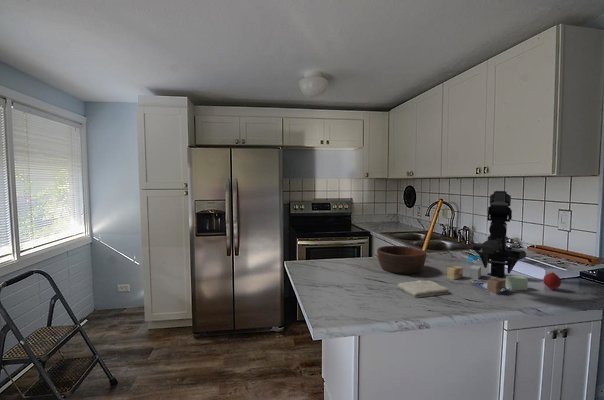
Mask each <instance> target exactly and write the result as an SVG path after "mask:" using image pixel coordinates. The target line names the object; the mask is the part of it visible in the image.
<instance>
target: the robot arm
mask: <svg viewBox="0 0 604 400" xmlns="http://www.w3.org/2000/svg"><path fill="white" fill-rule="evenodd" d="M511 199H512V197H511V195H510V194H509V193H507V191H505V190H495V191H493V193H492V194H490V196H489V206H488V207H487V220H486V221H489V222H490V226H489V229H488V231H489V235H488V236H487V240H486V241H484V242H482V243H481V242H478V243H477V242H476V243H473V244H472V245H471V250H472V251H474V253H476V254H477V255H478V256H479V257H480V260H481V262H482V265H483V268H484V269H487V268H488V264H490V272H488V273H487V275H488V276H492V277H496V278H499V279H503V278H506V276H509V274H511V272H512V271H513V269H514V267H515V266H516V264H517V263H518V262H519V260H522V259H526V258H527V253H526V250H524V249H518V248H512V249H508V247H509V246H508V245H507V240H508V239H509V236H507V230H508V224H507V223H510V221H512V219H513V213H512V212H513V210H512V209H511V208H512V207H511V206H512V205H511V203H512V202H511V201H512V200H511ZM506 266H507V274H505V271H506V270H505V269H506Z"/></svg>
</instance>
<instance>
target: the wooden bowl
mask: <svg viewBox="0 0 604 400" xmlns="http://www.w3.org/2000/svg"><path fill="white" fill-rule="evenodd" d="M376 253H377V259H378V263H379V265H380V267H381V268H382V269H383V270H384V271H386V272H388V273H393V274H399V275H414V274H415V275H416V274H419V273H420V272H421V271H422V270H423V268H424V266H425V264H426V261H427V260H426V259H427V252H426V251H425V250H423V249H421V248H416V247H412V246H406V245H405V246H404V245H384V246H380V247H378V248H377V249H376Z"/></svg>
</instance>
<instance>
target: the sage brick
mask: <svg viewBox="0 0 604 400" xmlns="http://www.w3.org/2000/svg"><path fill="white" fill-rule="evenodd" d="M528 280H529V278H528V277H525V276H522V275H508V276H506V277H505V287H506V286H507V287H508V288H507V289H509V288H510V289H509V290H511V291H523V290H525V291H527V290H528V285H529V284H528Z"/></svg>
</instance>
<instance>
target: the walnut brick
mask: <svg viewBox="0 0 604 400" xmlns="http://www.w3.org/2000/svg"><path fill="white" fill-rule="evenodd" d="M486 280H487V282H486V283H487V284H486V292H487V293H491V294H493V295H497V294H498V295H499V294H501V293H500V292H501V291H500V290H501V289H502V288H505V289H506V279H503V278H499V277H496V278H491V279H490V278H489V279H486Z"/></svg>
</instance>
